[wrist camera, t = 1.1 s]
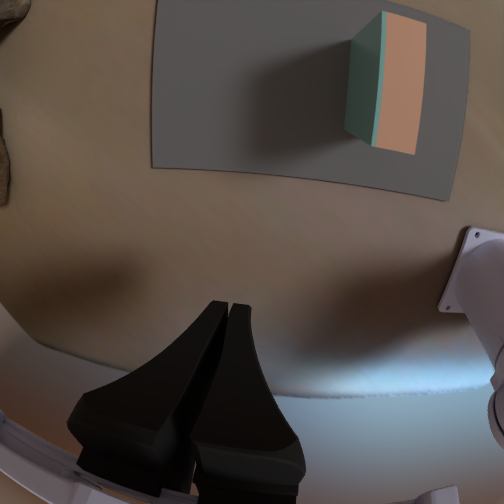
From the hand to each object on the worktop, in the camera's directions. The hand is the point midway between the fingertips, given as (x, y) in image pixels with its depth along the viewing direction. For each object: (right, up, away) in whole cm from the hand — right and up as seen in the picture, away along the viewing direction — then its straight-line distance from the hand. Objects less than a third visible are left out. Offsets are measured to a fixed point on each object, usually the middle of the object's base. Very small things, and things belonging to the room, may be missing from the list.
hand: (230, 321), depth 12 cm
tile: (+8, +13, +4) cm, 15 cm away
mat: (+5, +13, +4) cm, 15 cm away
